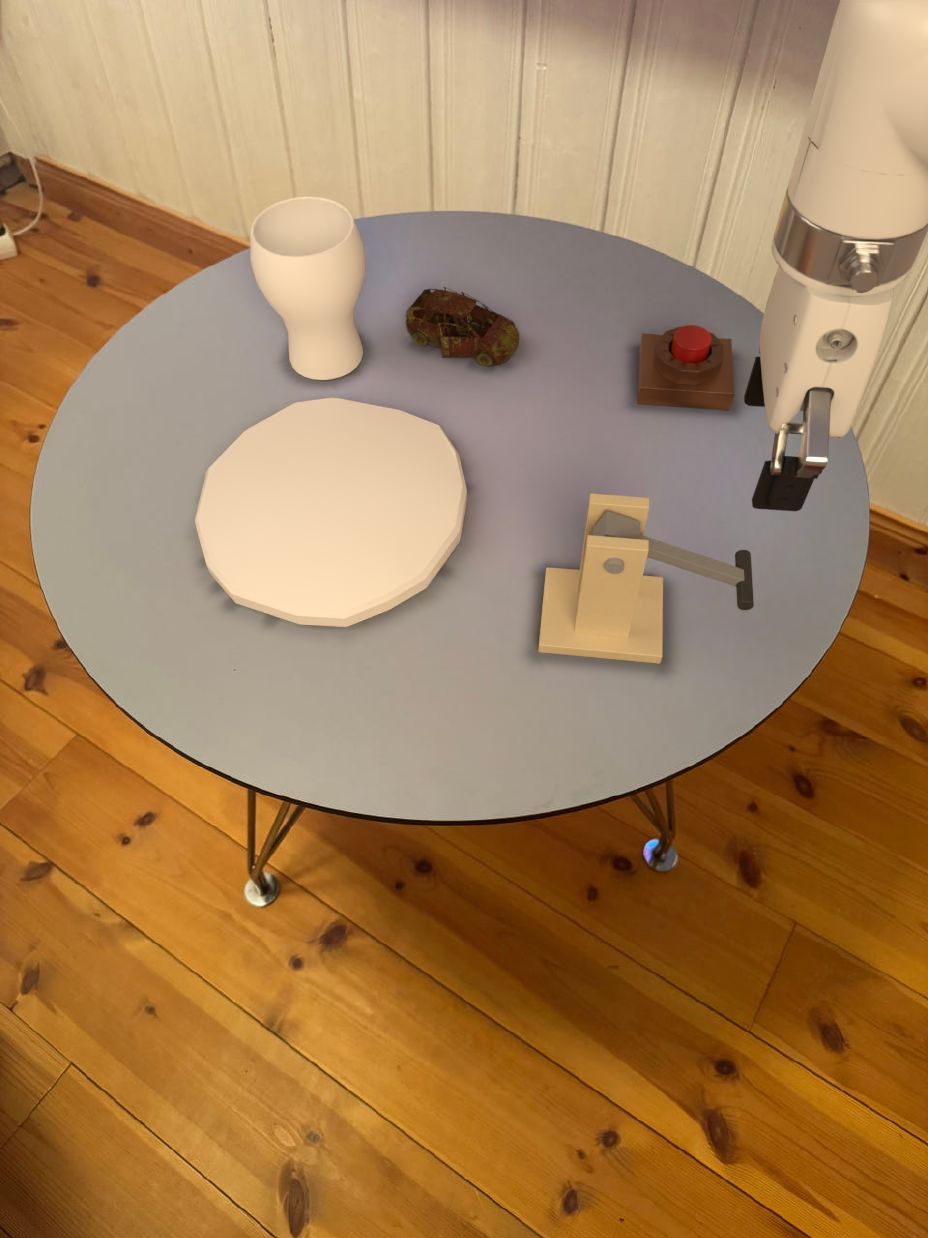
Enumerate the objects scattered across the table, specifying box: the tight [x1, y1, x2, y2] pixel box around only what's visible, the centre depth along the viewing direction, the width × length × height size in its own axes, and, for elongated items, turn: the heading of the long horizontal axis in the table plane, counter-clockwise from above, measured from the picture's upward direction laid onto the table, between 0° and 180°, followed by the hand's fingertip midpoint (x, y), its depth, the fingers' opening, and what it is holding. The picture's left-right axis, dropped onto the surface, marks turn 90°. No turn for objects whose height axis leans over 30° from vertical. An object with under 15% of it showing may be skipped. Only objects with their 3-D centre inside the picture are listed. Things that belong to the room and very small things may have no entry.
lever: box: [593, 511, 755, 611], centre depth 70 cm, size 13×5×2 cm, turn 83°
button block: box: [637, 325, 735, 411], centre depth 92 cm, size 9×8×4 cm
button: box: [671, 324, 711, 363], centre depth 90 cm, size 4×4×2 cm
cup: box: [249, 195, 367, 381], centre depth 91 cm, size 11×11×15 cm
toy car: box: [405, 286, 520, 368], centre depth 95 cm, size 12×7×5 cm, turn 63°
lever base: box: [537, 492, 664, 665], centre depth 72 cm, size 10×8×13 cm
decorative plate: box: [194, 397, 468, 628], centre depth 83 cm, size 25×4×25 cm
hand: (770, 453), depth 64 cm, fingers open, 9 cm apart
